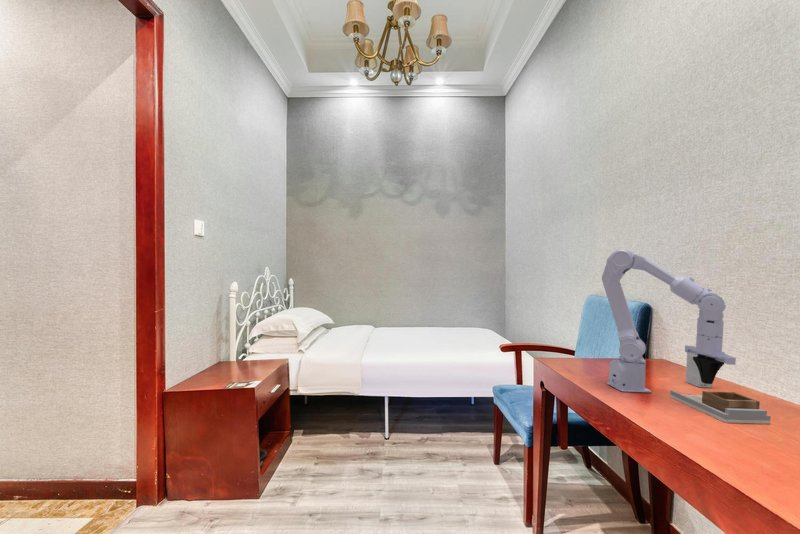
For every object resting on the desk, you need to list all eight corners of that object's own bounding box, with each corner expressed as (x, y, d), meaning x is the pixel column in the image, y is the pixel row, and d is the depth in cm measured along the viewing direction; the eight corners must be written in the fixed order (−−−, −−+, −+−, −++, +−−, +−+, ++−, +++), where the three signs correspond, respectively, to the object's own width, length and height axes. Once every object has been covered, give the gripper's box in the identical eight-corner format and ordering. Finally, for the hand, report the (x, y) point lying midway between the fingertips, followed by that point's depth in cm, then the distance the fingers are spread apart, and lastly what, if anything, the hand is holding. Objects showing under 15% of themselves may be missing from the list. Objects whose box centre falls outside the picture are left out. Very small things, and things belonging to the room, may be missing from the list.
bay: (725, 422, 92) (725, 409, 92) (670, 396, 110) (670, 386, 110) (770, 423, 92) (770, 411, 92) (707, 398, 110) (708, 387, 110)
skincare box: (712, 388, 120) (713, 351, 120) (698, 387, 120) (700, 351, 120) (697, 382, 126) (698, 347, 126) (684, 381, 126) (686, 346, 126)
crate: (725, 416, 93) (725, 400, 93) (701, 405, 100) (702, 391, 100) (758, 417, 94) (759, 401, 94) (733, 406, 101) (733, 392, 101)
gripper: (747, 341, 98) (745, 392, 98) (701, 331, 112) (699, 375, 112) (722, 340, 98) (719, 391, 98) (679, 330, 112) (676, 375, 112)
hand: (707, 383), depth 105 cm, fingers closed
